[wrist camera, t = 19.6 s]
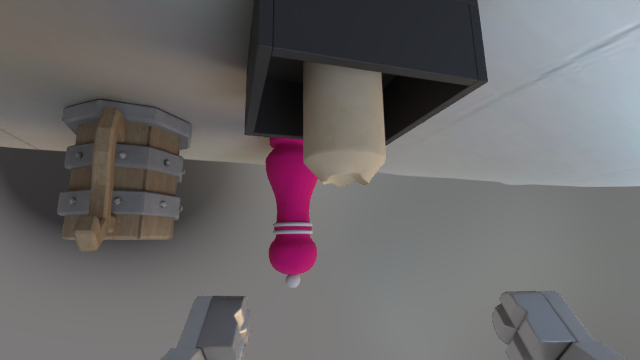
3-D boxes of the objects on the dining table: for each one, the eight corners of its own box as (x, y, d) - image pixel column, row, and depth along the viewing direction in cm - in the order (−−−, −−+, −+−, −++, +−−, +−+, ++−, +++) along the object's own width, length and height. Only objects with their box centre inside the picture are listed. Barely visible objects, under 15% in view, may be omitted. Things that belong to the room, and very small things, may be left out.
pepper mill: (255, 133, 42) (251, 288, 38) (289, 118, 37) (288, 294, 33) (296, 144, 47) (296, 282, 43) (331, 132, 42) (334, 287, 38)
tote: (246, 71, 27) (244, 135, 26) (260, -61, 15) (257, 45, 14) (381, 89, 30) (385, 146, 29) (477, -7, 19) (488, 81, 18)
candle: (391, 25, 20) (400, 175, 18) (366, 71, 26) (372, 191, 24) (307, 18, 20) (307, 174, 18) (300, 66, 25) (300, 190, 23)
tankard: (189, 144, 46) (181, 247, 43) (86, 133, 41) (69, 249, 38) (196, 81, 28) (184, 249, 26) (16, 48, 23) (-26, 253, 20)
